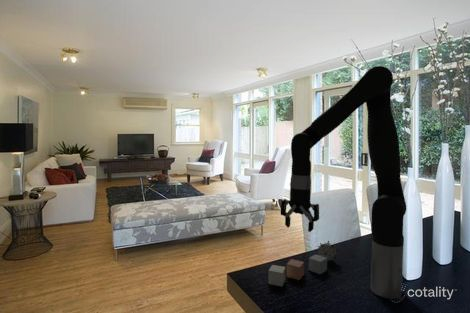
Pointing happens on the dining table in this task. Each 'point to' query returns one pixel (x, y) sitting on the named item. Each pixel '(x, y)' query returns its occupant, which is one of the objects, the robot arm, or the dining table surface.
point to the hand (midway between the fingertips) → (298, 228)
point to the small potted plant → (327, 251)
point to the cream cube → (277, 275)
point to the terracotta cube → (295, 269)
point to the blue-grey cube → (317, 264)
